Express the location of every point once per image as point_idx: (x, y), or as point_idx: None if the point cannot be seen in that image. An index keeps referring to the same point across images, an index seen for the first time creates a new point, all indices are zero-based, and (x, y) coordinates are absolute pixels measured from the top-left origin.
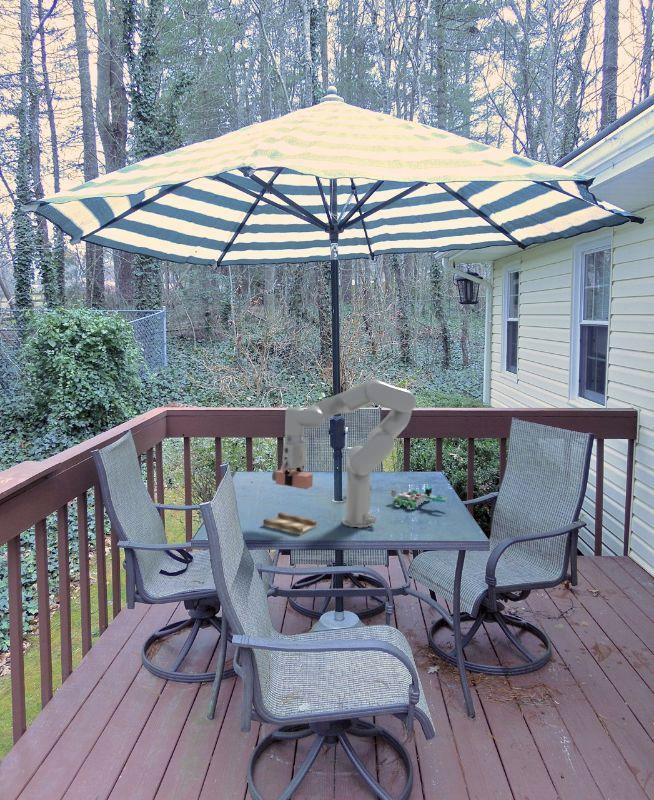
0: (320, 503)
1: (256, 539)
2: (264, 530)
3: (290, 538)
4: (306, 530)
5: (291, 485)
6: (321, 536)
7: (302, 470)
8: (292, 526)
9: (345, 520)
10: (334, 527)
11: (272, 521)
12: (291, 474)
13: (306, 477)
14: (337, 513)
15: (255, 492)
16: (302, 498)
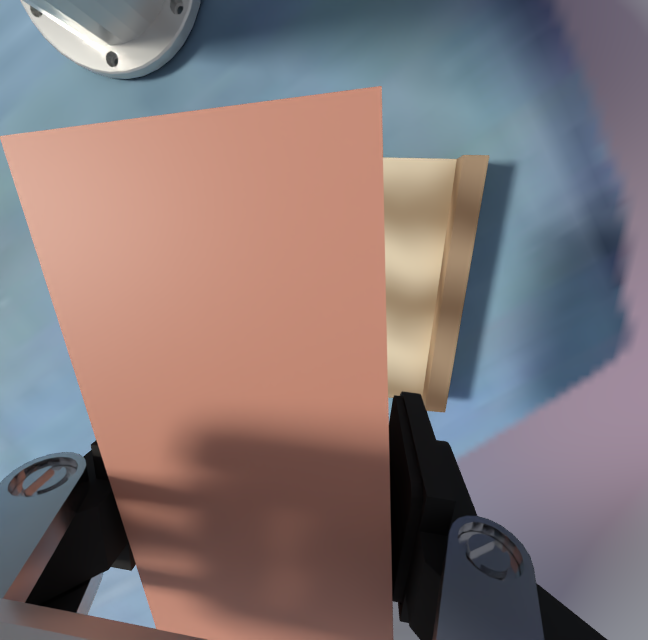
0: (32, 334)
1: (626, 326)
2: (491, 360)
3: (543, 182)
4: (414, 159)
5: (403, 392)
6: (434, 33)
7: (18, 483)
8: (470, 224)
9: (155, 26)
10: (261, 56)
11: (446, 362)
12: (388, 540)
13: (376, 105)
14: None
15: (126, 596)
16: (45, 431)
